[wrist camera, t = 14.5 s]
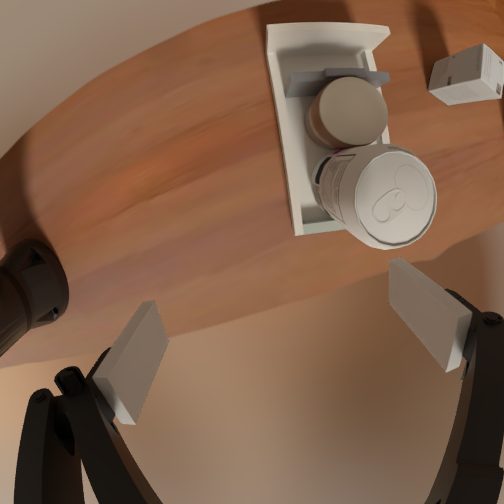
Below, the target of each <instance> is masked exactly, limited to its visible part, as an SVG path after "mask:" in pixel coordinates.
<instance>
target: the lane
mask: <svg viewBox="0 0 504 504" xmlns="http://www.w3.org/2000/svg"><path fill="white" fill-rule="evenodd" d="M389 35H390V31H389V27H388V26H381V25H371V24H359V23H342V22H299V23H281V24H269V25H267V27H266V53H265V56H266V61H267V66H268V71H269V77H270V82H271V88H272V93H273V99H274V105H275V111H276V117H277V123H278V129H279V135H280V142H281V148H282V155H283V162H284V168H285V176H286V183H287V190H288V197H289V205H290V213H291V221H292V229H293V232H294V234H295V236H297V235H305V234H312V233H320V232H328V231H335V230H343V229H345V228H344V227H343V226H342V225H340V224H339V223H338V222H337V221H336V220H334V219H333V218H332V217H331V216H329V215H328V214H327V213H326V212H324V211H323V210H322V209H321V208H320V206H319V205H318V204H317V202H316V201H315V199H314V196H313V193H312V189H311V178H312V174H313V171H314V169H315V166H316V164H317V163H318V162H319V161H320V160H321V159H322V158H323V156H325V155H327V154H329V153H331V152H333V150H327V149H324V148H322V147H320V146H318V145H317V144H315V143H314V142H313V141H312V140H311V139H310V137H309V136H308V134H307V132H306V130H305V126H304V114H305V111H306V109H307V107H308V106H309V104H310V103H311V102H312V101H313V99H314V98H315V97H316V96H303V97H291V98H285V92H284V89H285V86H286V83H287V80H288V77H289V74H290V73H295V72H311V71H324V69H325V68H365V71H377V70H376V65H375V61H374V57H373V54H372V50H374V49H375V48H376V47H377V46H378V45H379V44H380V43H381V42H382V41H383V40H384V39H386V38H387V37H388V36H389ZM377 90H378V91H379V92H380V94H381V95H382V92H381V87H379V88H377ZM375 144H390V140H389V133H388V126H387V125H386V128H385V130H384V132H383V133H382V135H381V136H380V137H379V138H378V139H376V140H375V141H374V142H373V143H371V144H369V145H375ZM367 146H368V145H367Z"/></svg>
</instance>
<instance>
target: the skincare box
mask: <svg viewBox="0 0 504 504" xmlns="http://www.w3.org/2000/svg"><path fill="white" fill-rule="evenodd" d="M503 85H504V61H503V60H502V59H501V58H500V57H499V56H497V55H496V54H495V53H494V52H493V51H492V50H491V49H490V48H489V47H488V46H486V45H485V44H484V43H482V44H479V45H477V46H474V47H471V48H468V49H466V50H463V51H461V52H458V53H456V54H453V55H451V56H448V57H446V58H443V59H441V60H438V61H436V62H435V63H434V67H433V70H432V74H431V78H430V82H429V87H428V91H429V92H430V93H432V94H433V95H434V96H436V97H437V98H438V99H440V100H441V101H443V102H444V103H445V104H447V105H454V104H460V103H467V102H474V101H482V100H490V99H500V98H501V97H502V89H503Z"/></svg>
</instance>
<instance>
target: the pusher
mask: <svg viewBox="0 0 504 504" xmlns="http://www.w3.org/2000/svg"><path fill="white" fill-rule="evenodd" d="M343 77H356V78H360V79H363V80H365V81H367V82H368V83H370V84H371V85H373V86H374V87H375V88H376V89H377V88H379V87H381V86H382V85H384V84H386V83H387V82H389V81H390V77H389V72H379V71H365V68H325V69H324V71H311V72H295V73H290V74H289V77H288V80H287V83H286V86H285V89H284V92H285V98H291V97H303V96H317V95H318V93H319V92H320V91H321V90H322V89H323V88H324V87H325V86H326V85H327V84H328V83H329V82H331V81H333V80H336V79H339V78H343Z"/></svg>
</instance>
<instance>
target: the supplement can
mask: <svg viewBox="0 0 504 504" xmlns="http://www.w3.org/2000/svg"><path fill="white" fill-rule="evenodd" d="M311 189H312V193H313V196H314V199H315V201H316V202H317V204H318V205H319V206H320V208H321V209H322V210H323V211H324V212H326V213H327V214H328V215H329V216H331V217H332V218H333V219H334V220H336V221H337V222H338V223H339V224H340V225H342V226H343V227H344V228H345V229H347V230H348V231H349V232H350V233H351V234H353V235H354V236H355V237H356V238H358V239H359V240H361V241H362V242H364V243H365V244H367V245H368V246H370V247H374V248H379V249H383V250H388V249H393V248H399V247H402V246H407V245H409V244H411V243H413V242H414V241H416V240H418V239H419V238H421V236H422V235H423V234H424V233H425V232H426V230H427V229H428V228H429V227H430V225H431V222H432V220H433V217H434V215H435V212H436V204H437V192H436V187H435V182H434V179H433V177H432V175H431V174H430V172H429V170H428V168H427V166H425V165H424V164H423V163H422V161H421V160H420V159H419V158H418V157H417V156H416V155H414V154H413V153H412V152H411V151H410V150H409V149H406V148H404V147H401V146H398V145H395V144H393V143H392V144H375V145H368V146H361V147H354V148H347V149H341V150H335V151H333V152H331V153H329V154H327V155H325V156H323V158H322V159H321V160H320V161H319V162H318V163H317V164H316V166H315V169H314V171H313V174H312V178H311Z"/></svg>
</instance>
